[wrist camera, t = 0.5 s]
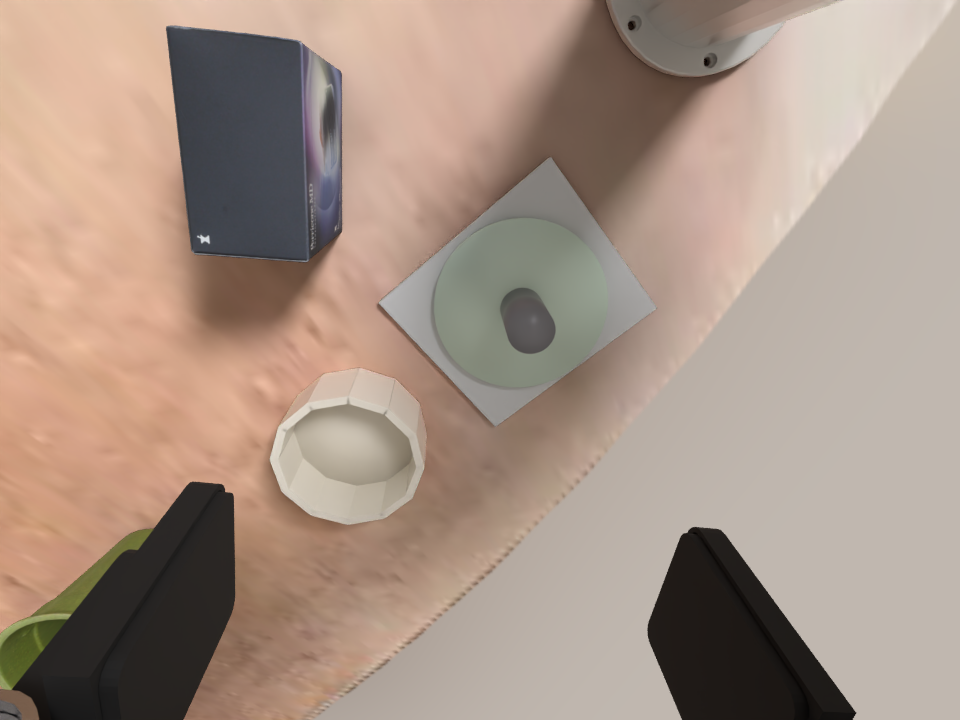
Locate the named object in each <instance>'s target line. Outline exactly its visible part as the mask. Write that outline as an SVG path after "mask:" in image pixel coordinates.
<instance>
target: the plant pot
mask: <svg viewBox="0 0 960 720" xmlns="http://www.w3.org/2000/svg"><path fill="white" fill-rule="evenodd" d="M152 531H153V529H144V530H139V531H136V532H133V533H131V534H129V535H128V536H126V537H125V538H124V539H122V540H121V541H120V542H119V543H118V544H116V545H115V546H114V547H113V548H112V549H111V550H110V551H109V552H107V553H106V554H105V555H104V556H103V557H102V558H101V559H100V560H98V561H97V562H96V563H95V564H94V565H93V566H92V567H90V568H89V569H88V570H87V571H86V572H85V573H84V574H83V575H81V576H80V577H79V578H78V579H77V580H76V581H74V582H73V583H72V584H71V585H70V586H69V587H68V588H66V589H65V590H64V591H63V592H62V593H61V594H60V595H58V596H57V597H56V598H55V599H53V600H51V601H50V602H48V603H46V604H45V605H43V606H42V607H41V608H40V609H38V610H37V611H36V612H35V613H34V614H33V615H31V616H30V617H27V618H25V619H22V620H20V621H18V622H16V623H14V624H12V625H11V626H9V627H8V628H6V629H5V630H4V631H3V632H2V633H1V634H0V686H1V687H2V688H3V689H6V690H12V688H13V687H14V686H15V685H16V683H17V682H18V681H19V680H20V678H21V677H22V676H23V675H24V673H25V672H26V671H27V670H28V668H29V667H30V666H31V665H32V663H33V662H34V661H35V660H36V658H37V657H38V656H39V655H40V653H41V652H42V651H43V650H44V648H45V647H46V646H47V645H48V643H49V642H50V641H51V640H52V638H53V637H54V636H55V635H56V633H57V632H58V631H59V630H60V628H61V627H62V626H63V625H64V623H65V622H66V621H67V620H68V618H69V617H70V616H71V615H72V613H73V612H74V611H75V610H76V608H77V607H78V606H79V605H80V603H81V602H82V601H83V600H84V598H85V597H86V596H87V595H88V593H89V592H90V591H91V590H92V588H93V587H94V586H95V585H96V583H97V582H98V581H99V580H100V578H101V577H102V576H103V575H104V573H105V572H106V571H107V570H108V568H109V567H110V566H111V565H112V563H113V562H114V561H115V560H116V558H117V557H118V556H119V555H120V554H121V553H122V552H124V551H126V550H128V549H133V550H138V549H139V548H140V546H141V545H142V544H143V542H144V541H145V540H146V539H147V537H148V536H149V535H150V533H151V532H152Z"/></svg>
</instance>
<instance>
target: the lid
mask: <svg viewBox="0 0 960 720" xmlns="http://www.w3.org/2000/svg"><path fill="white" fill-rule="evenodd" d="M607 309H608V290H607V283H606V279H605V276H604V272H603V270H602V268H601V265H600V263H599V261H598V260H597V258H596V256H595V255H594V253H593V252H592V251H591V249H590V248H589V247H588V246H587V245H586V244H585V243H584V242H583V241H582V240H581V239H580V238H579V237H578V236H576V235H575V234H573V233H572V232H570V231H569V230H567V229H566V228H564V227H562V226H560V225H558V224H555V223H552V222H549V221H546V220H542V219H536V218H511V219H506V220H501V221H497V222H495V223H492V224H489V225H487V226H485V227H483V228H481V229H479V230H477V231H476V232H474V233H473V234H471V235H470V236H469V237H467V238H466V239H465V240H464V241H463V242H462V243H461V244H460V245H459V246H457V248H456V249H455V250H454V251H453V253H452V254H451V255H450V256H449V258H448V260H447V261H446V263H445V265H444V266H443V269H442V271H441V273H440V276H439V279H438V282H437V286H436V291H435V298H434V315H435V323H436V327H437V330H438V334H439V336H440V338H441V341H442V343H443V345H444V347H445V348H446V350H447V352H448V353H449V354H450V356H451V357H452V358H453V359H454V361H455V362H456V363H458V364H459V365H460V366H461V367H462V368H463V369H464V370H466V371H467V372H468V373H470V374H471V375H473V376H475V377H477V378H478V379H480V380H483V381H485V382H488V383H491V384H495V385H499V386H505V387H530V386H535V385H540V384H544V383H546V382H549V381H552V380H554V379H556V378H558V377H560V376H562V375H564V374H565V373H567V372H569V371H570V370H572V369H573V368H574V367H575V366H576V365H578V364H579V363H580V362H581V361H582V360H583V359H584V358H585V357H586V356H587V355H588V353H589V352H590V351H591V349H592V348H593V347H594V345H595V343H596V342H597V340H598V338H599V336H600V334H601V332H602V329H603V327H604V323H605V320H606V316H607Z"/></svg>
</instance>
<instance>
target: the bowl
mask: <svg viewBox="0 0 960 720" xmlns="http://www.w3.org/2000/svg"><path fill="white" fill-rule="evenodd" d="M426 440H427V432H426V427H425V423H424V419H423V414H422V410H421V406H420V403H419V402H418V401H417V400H416V399H415V398H414V397H413V396H412V395H411V394H410V393H409V392H408V391H407V390H406V389H405V388H404V387H403V386H402V385H401V384H400V383H399V382H398V381H397V380H396V379H395V378H391V377H388V376H385V375H382V374H379V373H375V372H372V371H369V370H366V369H363V368H354V369H348V370H343V371H337V372H331V373H325V374H322V375H321V376H320V377H319V378H318V379H316V380H315V381H314V382H313V383H312V384H310V385H309V386H308V387H307V388H306V389H304V390H303V391H302V392H301V393H300V394H298V395H297V397H296V398H295V400H294V402H293V403H292V405H291V407H290V408H289V410H288V412H287V413H286V415H285V417H284V418H283V420H282V422H281V423H280V425H279V427H278V430H277V434H276V437H275V441H274V445H273V449H272V452H271V456H270V462H271V465H272V468H273V470H274V473H275V475H276V478H277V481H278V483H279V486H280V489H281V491H282V493H284V494H285V495H286V496H287V497H288V498H290V499H291V500H292V501H293V502H295V503H296V504H297V505H298V506H300V507H301V508H302V509H303V510H304V511H306V512H307V513H308V514H309V515H311V516H315V517H319V518H322V519H326V520H330V521H334V522H338V523H342V524H346V525H347V524H348V525H350V524H356V523H362V522H368V521H374V520H380V519H384V518H386V517H388V516H389V515H390V514H392V513H393V512H394V511H396V510H397V509H399V508H400V507H401V506H403V505H404V504H405V503H407V502H408V501H410V500H411V499H412V498H413V496H414V493H415V491H416V488H417V486H418V483H419V481H420V478H421V476H422V473H423V470H424V466H425V453H426Z"/></svg>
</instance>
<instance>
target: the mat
mask: <svg viewBox="0 0 960 720" xmlns="http://www.w3.org/2000/svg"><path fill="white" fill-rule="evenodd" d="M511 218H536V219H542V220H546V221H549V222H552V223H555V224H558V225H560V226H562V227H564V228H566V229H567V230H569V231H570V232H572V233H573V234H575V235H576V236H578V237H579V238H580V239H581V240H582V241H583V242H584V243H585V244H586V245H587V246H588V247H589V248H590V249H591V251H592V252H593V253H594V255H595V256H596V258H597V260H598V261H599V263H600V265H601V268H602V270H603V272H604V276H605V279H606V283H607V290H608V309H607V316H606V320H605V323H604V327H603V329H602V332H601V334H600V336H599V338H598V340H597V342H596V343H595V345H594V347H593V348H592V349H591V351H590V352H589V353H588V355H587V356H586V357H585V358H584V359H583V360H582V361H581V362H580V363H579V364H578V365H576V366H575V367H574V368H573V369H572V370H574V369H575V368H576V367H578V366H579V365H581V364H582V363H583V362H585V361H586V360H587V359H589V358H590V357H591V356H593V355H594V354H596V353H597V352H598V351H600V350H601V349H602V348H604V347H605V346H606V345H608V344H609V343H611V342H612V341H613V340H615V339H616V338H617V337H619V336H620V335H621V334H623V333H624V332H626V331H627V330H628V329H630V328H631V327H632V326H634V325H635V324H636V323H638V322H639V321H640V320H642V319H643V318H645V317H646V316H647V315H649V314H650V313H651V312H653V311H654V310H655V309H657V307H656V306H655V304H654V303H653V301H652V300H651V298H650V297H649V296H648V294H647V293H646V291H645V290H644V289H643V287H642V286H641V284H640V283H639V281H638V280H637V279H636V277H635V276H634V274H633V273H632V271H631V270H630V269H629V267H628V266H627V264H626V263H625V262H624V260H623V259H622V257H621V256H620V254H619V253H618V252H617V250H616V249H615V247H614V246H613V245H612V243H611V242H610V240H609V239H608V237H607V236H606V235H605V233H604V232H603V230H602V229H601V228H600V226H599V225H598V223H597V222H596V220H595V219H594V218H593V216H592V215H591V213H590V212H589V210H588V209H587V208H586V206H585V205H584V203H583V202H582V201H581V199H580V198H579V196H578V195H577V193H576V192H575V191H574V189H573V188H572V186H571V185H570V184H569V182H568V181H567V179H566V178H565V176H564V175H563V174H562V172H561V171H560V169H559V168H558V167H557V165H556V164H555V162H554V161H553V159H552V158H551V157H549V158H548V159H546V160H545V161H544V162H543V163H542V164H540V165H539V166H538V167H537V168H536V169H535V170H533V171H532V172H531V173H530V174H529V175H527V176H526V177H525V178H524V179H523V180H522V181H520V182H519V183H518V184H517V185H516V186H515V187H513V188H512V189H511V190H510V191H509V192H507V193H506V194H505V195H504V196H503V197H502V198H500V199H499V200H498V201H497V202H496V203H494V204H493V205H492V206H491V207H490V208H489V209H487V210H486V211H485V212H484V213H483V214H481V215H480V216H479V217H478V218H477V219H476V220H474V221H473V222H472V223H471V224H470V225H469V226H467V227H466V228H465V229H464V230H463V231H461V232H460V233H459V234H458V235H457V236H456V237H454V238H453V239H452V240H451V241H450V242H448V243H447V244H446V245H445V246H444V247H443V248H441V249H440V250H439V251H438V252H437V253H435V254H434V255H433V256H432V257H431V258H430V259H428V260H427V261H426V262H425V263H424V264H423V265H421V266H420V267H419V268H418V269H417V270H415V271H414V272H413V273H412V274H411V275H410V276H408V277H407V278H406V279H405V280H404V281H402V282H401V283H400V284H399V285H398V286H397V287H395V288H394V289H393V290H392V291H391V292H389V293H388V294H387V295H386V296H385V297H384V298H382V299H381V300H380V301H379V304H380V305H381V306H382V307H383V308H384V309H385V311H386V312H387V313H388V314H389V315H390V316H391V317H392V318H393V319H394V320H395V321H396V322H397V323H398V324H399V325H400V326H401V327H402V329H403V330H404V331H405V332H406V333H407V334H408V335H409V336H410V337H411V338H412V339H413V340H414V341H415V342H416V343H417V344H418V345H419V347H420V348H421V349H422V350H423V351H424V352H425V353H426V354H427V355H428V356H429V357H430V358H431V359H432V360H433V361H434V362H435V364H436V365H437V366H438V367H439V368H440V369H441V370H442V371H443V372H444V373H445V374H446V375H447V376H448V377H449V378H450V379H451V380H452V382H453V383H454V384H455V385H456V386H457V387H458V388H459V389H460V390H461V391H462V392H463V393H464V394H465V395H466V396H467V397H468V398H469V400H470V401H471V402H472V403H473V404H474V405H475V406H476V407H477V408H478V409H479V410H480V411H481V412H482V413H483V414H484V415H485V417H486V418H487V419H488V420H489V421H490V422H491V423H492V424H493V425H494V426H495V427H496V426H497V425H499V424H500V423H502V422H503V421H504V420H506V419H507V418H508V417H510V416H511V415H512V414H514V413H515V412H516V411H518V410H519V409H521V408H522V407H523V406H525V405H526V404H527V403H529V402H530V401H531V400H533V399H534V398H536V397H537V396H538V395H540V394H541V393H542V392H544V391H545V390H546V389H548V388H549V387H551V386H552V385H553V384H555V383H556V382H557V381H559V380H560V379H561V378H563V377H564V376H566V375H567V374H568V373H570V372H571V371H572V370H570V371H569V372H567V373H565V374H564V375H562V376H560V377H558V378H556V379H554V380H552V381H549V382H546V383H544V384H540V385H535V386H530V387H505V386H499V385H495V384H491V383H488V382H485V381H483V380H480V379H478V378H477V377H475V376H473V375H471V374H470V373H468V372H467V371H466V370H464V369H463V368H462V367H461V366H460V365H459V364H458V363H456V362H455V361H454V359H453V358H452V357H451V356H450V354H449V353H448V352H447V350H446V348H445V347H444V345H443V343H442V341H441V338H440V336H439V334H438V330H437V327H436V323H435V315H434V298H435V291H436V286H437V282H438V279H439V276H440V273H441V271H442V269H443V266H444V265H445V263H446V261H447V260H448V258H449V256H450V255H451V254H452V253H453V251H454V250H455V249H456V248H457V246H459V245H460V244H461V243H462V242H463V241H464V240H465V239H466V238H467V237H469V236H470V235H471V234H473V233H474V232H476V231H477V230H479V229H481V228H483V227H485V226H487V225H489V224H492V223H495V222H497V221H501V220H506V219H511Z"/></svg>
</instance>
